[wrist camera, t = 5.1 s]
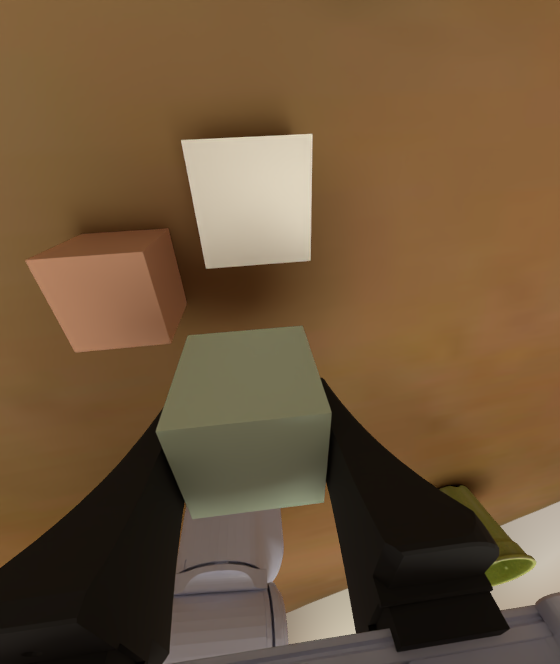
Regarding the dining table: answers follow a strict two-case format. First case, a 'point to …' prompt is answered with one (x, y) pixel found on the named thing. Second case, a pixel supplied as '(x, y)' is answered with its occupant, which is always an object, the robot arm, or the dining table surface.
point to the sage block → (247, 422)
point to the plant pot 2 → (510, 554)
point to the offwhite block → (252, 198)
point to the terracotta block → (113, 288)
